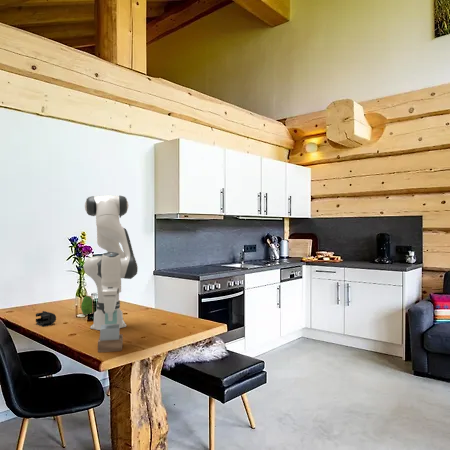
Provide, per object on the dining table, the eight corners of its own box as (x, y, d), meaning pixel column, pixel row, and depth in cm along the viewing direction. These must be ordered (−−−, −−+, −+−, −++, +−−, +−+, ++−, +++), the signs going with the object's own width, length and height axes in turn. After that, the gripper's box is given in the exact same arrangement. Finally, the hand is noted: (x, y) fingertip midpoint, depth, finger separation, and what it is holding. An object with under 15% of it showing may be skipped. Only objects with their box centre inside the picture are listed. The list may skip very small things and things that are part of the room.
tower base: (100, 346, 181) (100, 335, 181) (122, 344, 183) (122, 334, 183) (97, 353, 172) (97, 341, 172) (121, 351, 174) (121, 340, 174)
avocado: (78, 316, 242) (78, 296, 242) (85, 313, 249) (85, 294, 249) (90, 316, 240) (90, 296, 240) (96, 313, 248) (96, 294, 248)
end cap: (56, 324, 221) (56, 312, 221) (43, 327, 215) (43, 314, 215) (47, 321, 227) (47, 310, 227) (35, 324, 221) (35, 312, 222)
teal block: (105, 321, 179) (105, 310, 179) (117, 321, 181) (117, 310, 181) (104, 324, 175) (104, 313, 175) (116, 323, 176) (116, 312, 176)
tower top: (101, 335, 180) (101, 324, 180) (119, 334, 182) (119, 323, 182) (100, 340, 173) (100, 329, 173) (119, 339, 175) (119, 328, 175)
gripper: (105, 285, 187) (105, 314, 187) (101, 292, 167) (101, 324, 167) (119, 284, 188) (119, 313, 188) (117, 291, 168) (116, 324, 168)
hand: (111, 319), depth 177 cm, fingers closed on teal block, 5 cm apart
